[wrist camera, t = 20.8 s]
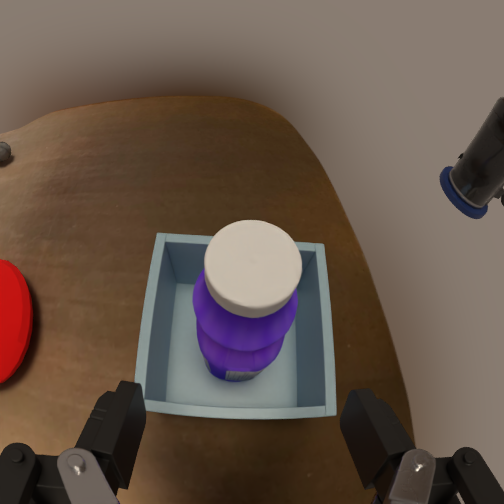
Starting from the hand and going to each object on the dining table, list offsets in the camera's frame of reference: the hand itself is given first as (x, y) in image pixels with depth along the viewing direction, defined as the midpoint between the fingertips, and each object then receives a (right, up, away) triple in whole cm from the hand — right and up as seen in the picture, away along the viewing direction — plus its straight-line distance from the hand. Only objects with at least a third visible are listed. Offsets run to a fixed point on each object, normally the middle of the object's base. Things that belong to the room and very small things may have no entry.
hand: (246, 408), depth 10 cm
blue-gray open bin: (-2, -3, +18) cm, 18 cm away
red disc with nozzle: (-30, -3, +15) cm, 34 cm away
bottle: (-1, -3, +17) cm, 18 cm away
